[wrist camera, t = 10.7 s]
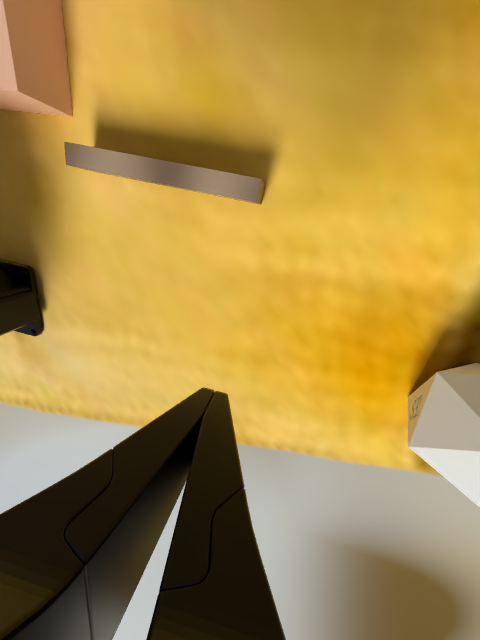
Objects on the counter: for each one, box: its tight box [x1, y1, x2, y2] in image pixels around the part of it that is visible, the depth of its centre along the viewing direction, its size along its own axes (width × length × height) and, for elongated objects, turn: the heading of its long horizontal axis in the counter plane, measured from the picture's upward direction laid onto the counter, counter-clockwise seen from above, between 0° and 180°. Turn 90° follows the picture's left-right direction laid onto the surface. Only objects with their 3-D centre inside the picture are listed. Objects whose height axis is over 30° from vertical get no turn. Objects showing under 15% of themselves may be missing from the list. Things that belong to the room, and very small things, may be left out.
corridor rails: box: [64, 142, 265, 204], centre depth 14 cm, size 12×11×2 cm
